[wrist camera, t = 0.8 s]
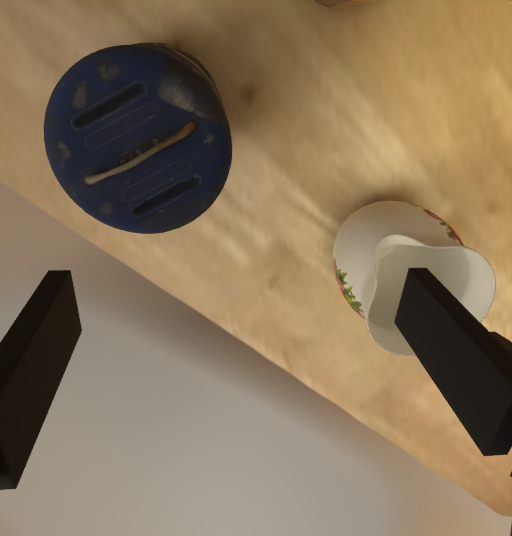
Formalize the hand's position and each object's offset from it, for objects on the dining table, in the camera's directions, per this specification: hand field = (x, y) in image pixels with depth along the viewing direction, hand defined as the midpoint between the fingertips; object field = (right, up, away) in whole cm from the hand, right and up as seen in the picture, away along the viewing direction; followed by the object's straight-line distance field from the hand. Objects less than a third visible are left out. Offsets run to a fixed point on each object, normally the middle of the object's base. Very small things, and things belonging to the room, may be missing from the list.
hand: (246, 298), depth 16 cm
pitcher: (+13, +4, +27) cm, 31 cm away
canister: (-7, +15, +19) cm, 25 cm away
